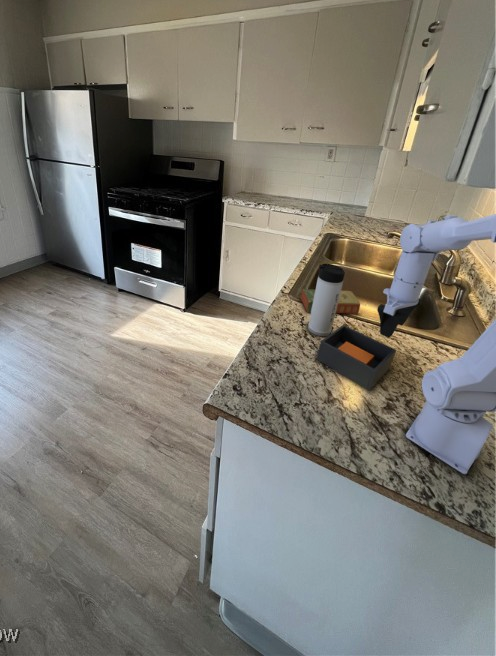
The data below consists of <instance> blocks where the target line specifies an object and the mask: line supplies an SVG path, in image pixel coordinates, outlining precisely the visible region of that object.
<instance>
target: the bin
mask: <svg viewBox="0 0 496 656" xmlns="http://www.w3.org/2000/svg"><path fill="white" fill-rule="evenodd" d="M346 341H347V342H349V343H351V344H353V345H354V346H356V347H358V348H360V349H362V350H364V351H366V352H368V353H370V354H372V355H374V359H373V362H372V365H371V366H368V365H366V364H364V363H363V362H361V361H359V360H357V359H355V358H353V357H352V356H350V355H348V354H346V353H344V352H342V351H341V350H339V349H338V348H339V347H340V346H342V345H343V344H344V343H345V342H346ZM396 352H397V349H396V348H393V347H391V346H389V345H387V344H385V343H383V342H381V341H378V340H377V339H374V338H372V337H370V336H368V335H367V334H364V333H362V332H360V331H358V330H355V329H353V328H351V327H349V326H347V325H346V324H342V325H341V326H339V327H338V328H337V329H335V330H334V331H332V332H331V333H330V334H329V335H328V336H325V338H323V339H322V340H320V342H319V347H318V351H317V356H316V360H317V361H319V362H320V363H322V364H324V365H325V366H327V367H329V368H330V369H332V370H334V371H335V372H337V373H339V374H340V375H342V376H344V377H345V378H347V379H348V380H351V381H352V382H354V383H355V384H357V385H359V386H360V387H362V388H364V389H366V390H367V391H369V392H370V391H371V390H372V389H373V388H374V387H375V385H376V384H377V383H379V381H380V380H381V379H382V377H384V375H385V374H386V373H387V372H388V371H389V370H390V368H391V367H392V363H393V360H394V358H395V356H396Z"/></svg>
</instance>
